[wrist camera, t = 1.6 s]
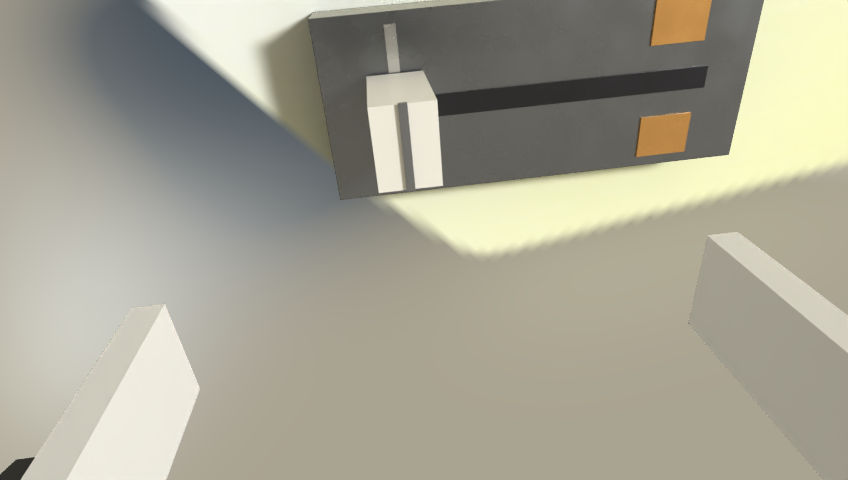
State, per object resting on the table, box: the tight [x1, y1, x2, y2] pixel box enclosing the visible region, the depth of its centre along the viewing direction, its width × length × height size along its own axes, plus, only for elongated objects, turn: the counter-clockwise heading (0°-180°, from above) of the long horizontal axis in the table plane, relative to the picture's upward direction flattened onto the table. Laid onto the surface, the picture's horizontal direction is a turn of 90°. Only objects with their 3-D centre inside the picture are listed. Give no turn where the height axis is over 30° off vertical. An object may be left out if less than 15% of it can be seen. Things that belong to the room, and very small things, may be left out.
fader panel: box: [308, 0, 764, 200], centre depth 30 cm, size 10×24×3 cm, turn 95°
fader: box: [366, 71, 443, 193], centre depth 26 cm, size 4×3×6 cm
